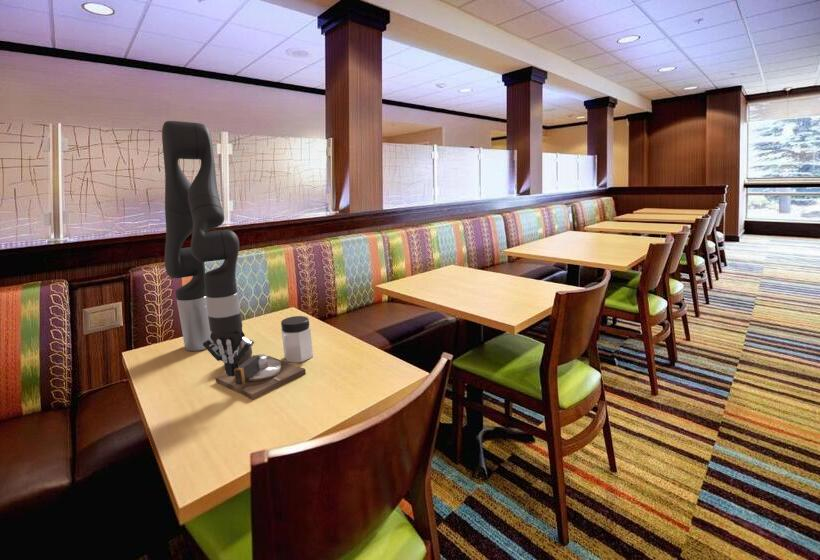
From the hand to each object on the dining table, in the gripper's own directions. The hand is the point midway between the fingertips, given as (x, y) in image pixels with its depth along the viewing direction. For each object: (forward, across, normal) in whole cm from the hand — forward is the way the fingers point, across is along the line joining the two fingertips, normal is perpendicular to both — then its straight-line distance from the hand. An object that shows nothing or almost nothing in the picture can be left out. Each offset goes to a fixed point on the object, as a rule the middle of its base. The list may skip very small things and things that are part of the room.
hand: (232, 374), depth 110 cm
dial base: (+5, +4, +8) cm, 10 cm away
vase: (+5, -7, +17) cm, 20 cm away
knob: (+3, +4, +5) cm, 7 cm away
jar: (+5, +9, +22) cm, 24 cm away
